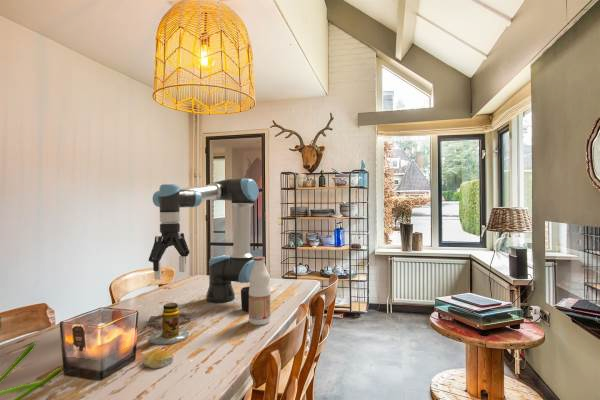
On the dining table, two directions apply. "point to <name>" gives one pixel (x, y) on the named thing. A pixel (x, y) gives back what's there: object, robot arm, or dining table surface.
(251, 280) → the fruit juice
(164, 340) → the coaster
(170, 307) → the condiment
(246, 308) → the pen holder
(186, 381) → the dining table surface
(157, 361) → the mossy stone
